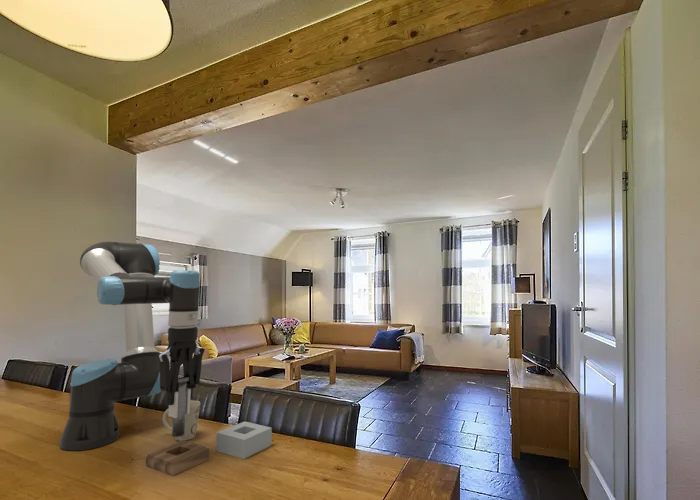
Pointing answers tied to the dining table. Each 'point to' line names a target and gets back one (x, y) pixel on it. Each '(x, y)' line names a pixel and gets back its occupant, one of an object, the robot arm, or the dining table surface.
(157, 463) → the block
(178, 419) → the pin
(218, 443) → the socket
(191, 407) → the mug
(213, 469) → the dining table surface
